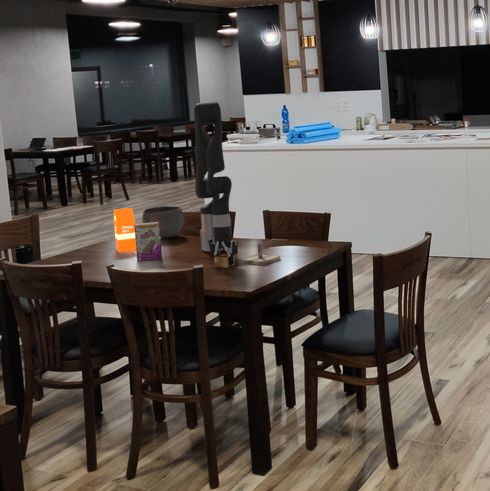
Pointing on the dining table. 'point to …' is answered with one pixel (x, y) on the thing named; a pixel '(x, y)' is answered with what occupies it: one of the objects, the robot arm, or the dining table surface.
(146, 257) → the candy bar box
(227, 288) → the dining table surface
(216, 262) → the small wooden box
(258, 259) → the wooden peg stand
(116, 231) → the orange juice
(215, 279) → the dining table surface
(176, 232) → the bowl
